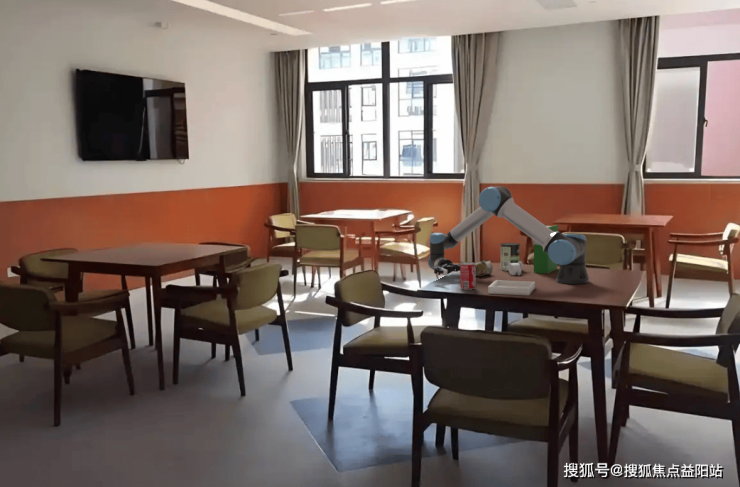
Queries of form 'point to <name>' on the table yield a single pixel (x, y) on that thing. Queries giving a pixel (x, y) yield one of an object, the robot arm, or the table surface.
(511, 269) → the elephant figurine
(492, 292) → the tray
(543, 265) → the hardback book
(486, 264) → the ceramic sculpture
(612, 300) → the table surface
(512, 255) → the coffee can
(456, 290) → the table surface
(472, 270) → the soda can
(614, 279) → the table surface
